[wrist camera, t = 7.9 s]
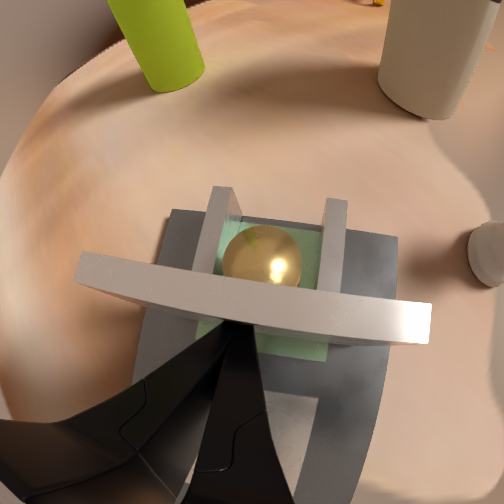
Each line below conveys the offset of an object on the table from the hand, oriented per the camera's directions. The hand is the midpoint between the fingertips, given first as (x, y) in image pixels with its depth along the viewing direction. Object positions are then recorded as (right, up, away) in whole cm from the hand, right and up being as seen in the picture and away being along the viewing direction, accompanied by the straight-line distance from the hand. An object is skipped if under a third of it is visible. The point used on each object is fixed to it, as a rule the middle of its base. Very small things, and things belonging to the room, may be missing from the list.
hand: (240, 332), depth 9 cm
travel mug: (+16, +17, +12) cm, 26 cm away
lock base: (0, -5, +6) cm, 8 cm away
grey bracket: (+1, +1, +7) cm, 7 cm away
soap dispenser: (-8, +20, +16) cm, 27 cm away
